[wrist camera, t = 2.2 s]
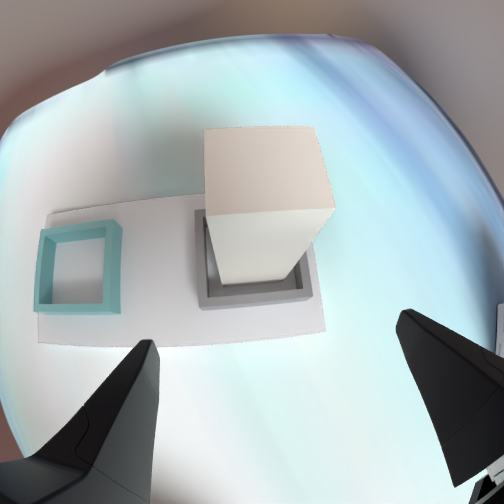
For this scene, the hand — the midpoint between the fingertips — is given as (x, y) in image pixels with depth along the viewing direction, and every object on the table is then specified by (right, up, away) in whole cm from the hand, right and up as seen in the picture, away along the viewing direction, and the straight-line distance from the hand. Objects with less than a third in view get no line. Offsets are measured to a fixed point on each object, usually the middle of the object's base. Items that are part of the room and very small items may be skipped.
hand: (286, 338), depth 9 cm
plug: (-1, +2, +12) cm, 12 cm away
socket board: (-8, +1, +12) cm, 15 cm away
